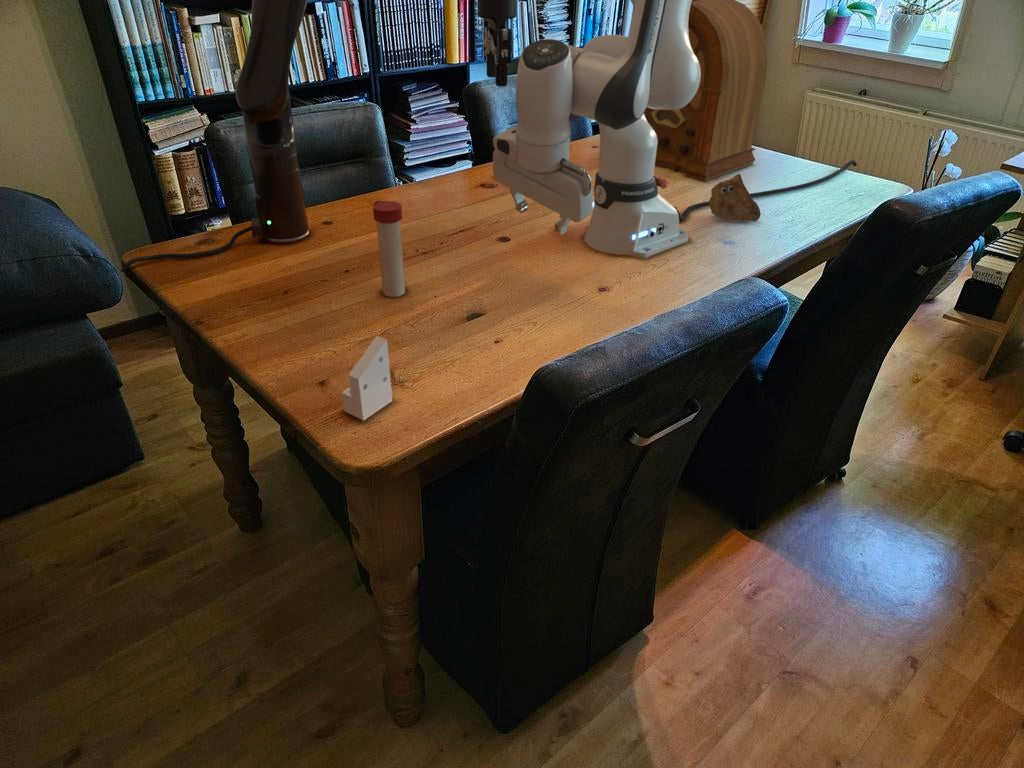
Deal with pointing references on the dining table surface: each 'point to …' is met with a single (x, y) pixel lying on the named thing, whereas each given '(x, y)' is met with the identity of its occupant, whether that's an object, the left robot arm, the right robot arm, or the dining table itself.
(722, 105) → the radio
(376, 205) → the lid
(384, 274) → the bottle
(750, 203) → the decorative rock
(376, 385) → the white angled block
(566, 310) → the dining table surface
